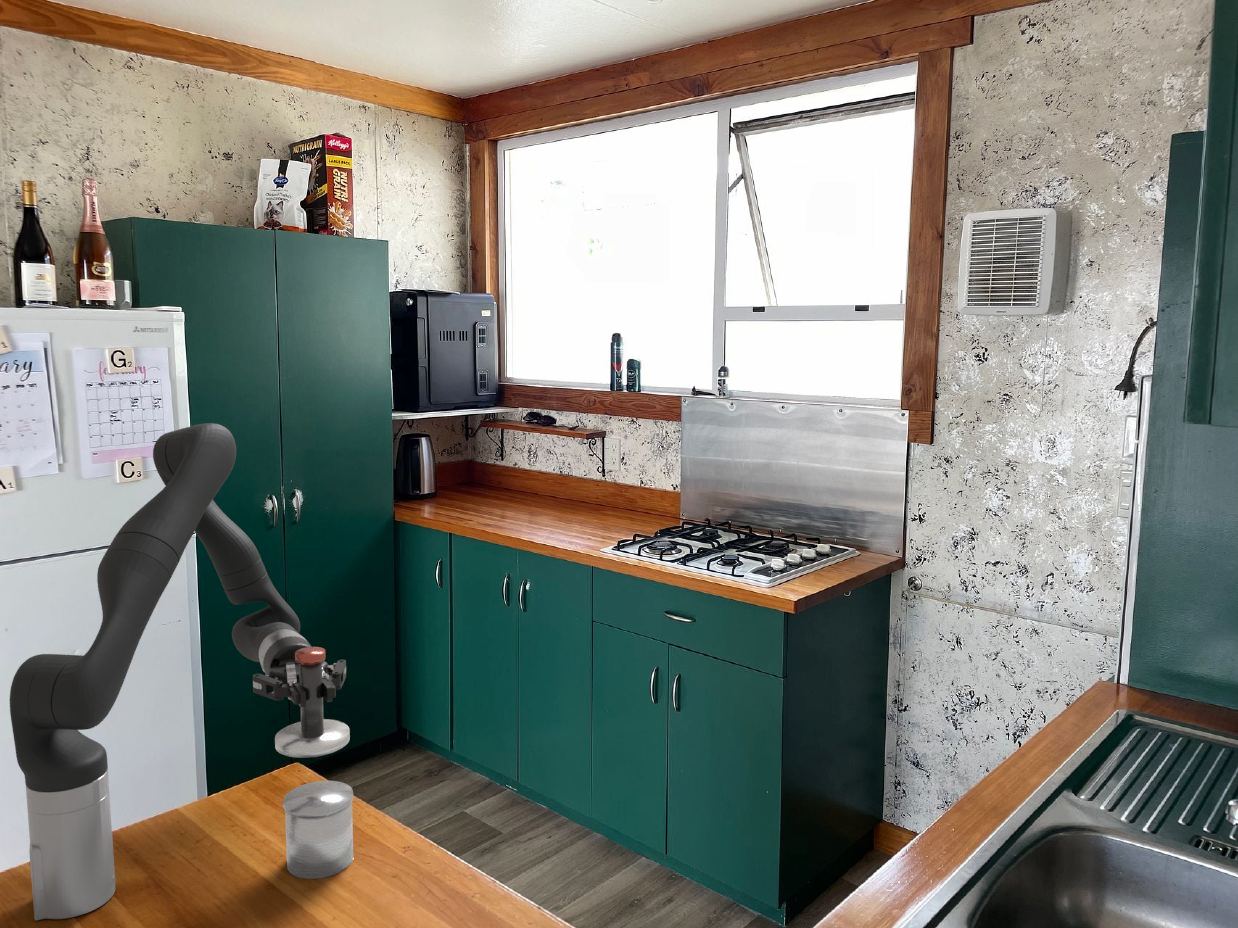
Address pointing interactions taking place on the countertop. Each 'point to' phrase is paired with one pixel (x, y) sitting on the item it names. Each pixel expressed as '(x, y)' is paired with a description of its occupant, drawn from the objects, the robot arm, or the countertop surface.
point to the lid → (312, 714)
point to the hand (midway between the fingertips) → (316, 697)
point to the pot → (319, 829)
